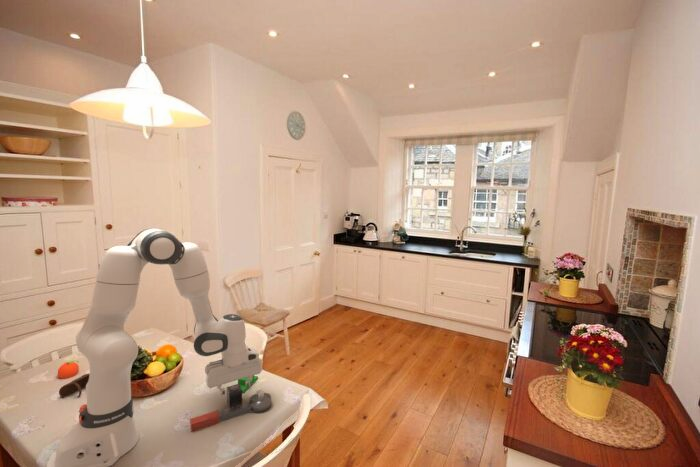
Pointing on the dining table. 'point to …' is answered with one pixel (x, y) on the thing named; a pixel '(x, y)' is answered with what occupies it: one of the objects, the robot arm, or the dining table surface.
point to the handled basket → (74, 386)
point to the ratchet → (233, 411)
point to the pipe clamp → (242, 383)
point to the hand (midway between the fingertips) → (235, 390)
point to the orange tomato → (68, 370)
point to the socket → (234, 395)
